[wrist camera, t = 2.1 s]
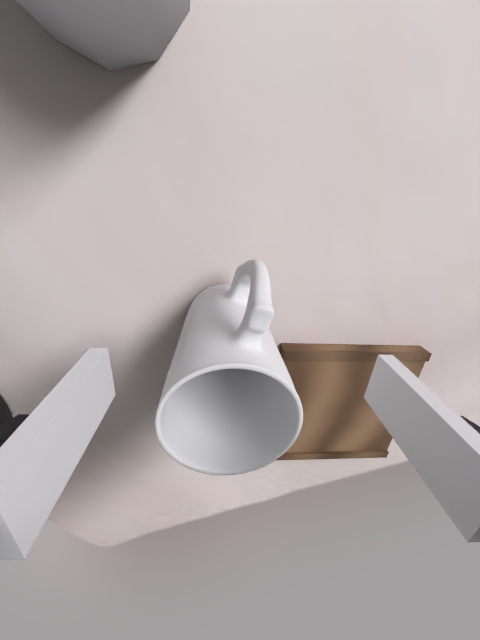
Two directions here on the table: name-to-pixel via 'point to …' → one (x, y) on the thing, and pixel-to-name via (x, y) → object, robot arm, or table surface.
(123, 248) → the table surface
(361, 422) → the wooden coaster
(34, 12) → the toilet tissue
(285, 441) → the mug
